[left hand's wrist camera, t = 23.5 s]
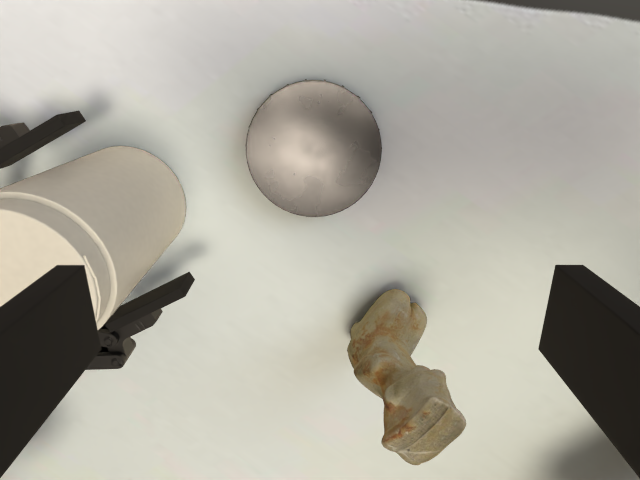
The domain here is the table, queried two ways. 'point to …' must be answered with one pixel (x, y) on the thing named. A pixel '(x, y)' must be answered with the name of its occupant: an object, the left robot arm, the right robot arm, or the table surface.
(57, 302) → the left robot arm
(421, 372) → the sculpture
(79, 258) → the jar
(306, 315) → the table surface
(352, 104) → the lid
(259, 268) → the table surface
